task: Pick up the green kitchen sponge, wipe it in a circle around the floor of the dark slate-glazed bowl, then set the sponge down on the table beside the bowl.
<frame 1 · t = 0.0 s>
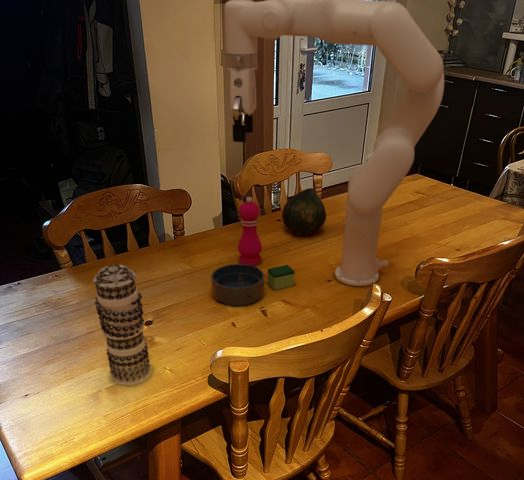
hand: (243, 136, 137), 37 cm above the table, tool pointing down, fingers open, 9 cm apart
sponge: (280, 284, 150), on the table
squash: (303, 231, 182), on the table
decorative candle: (131, 373, 117), on the table
pepper mill: (250, 262, 162), on the table
bowl: (238, 293, 146), on the table
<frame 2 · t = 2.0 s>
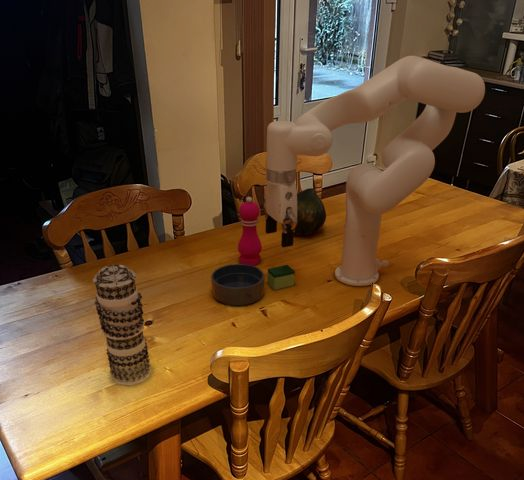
hand: (278, 239, 143), 13 cm above the table, tool pointing down, fingers open, 9 cm apart
nothing on the table moved.
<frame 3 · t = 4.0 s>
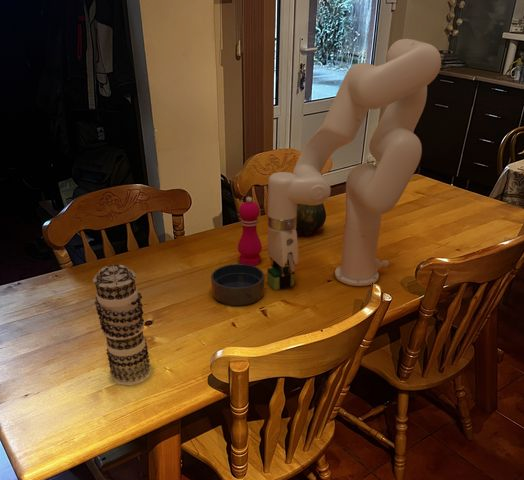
hand: (280, 283, 150), 0 cm above the table, tool pointing down, fingers closed on sponge, 4 cm apart
sponge: (280, 284, 150), on the table, touching gripper
everything else where it was.
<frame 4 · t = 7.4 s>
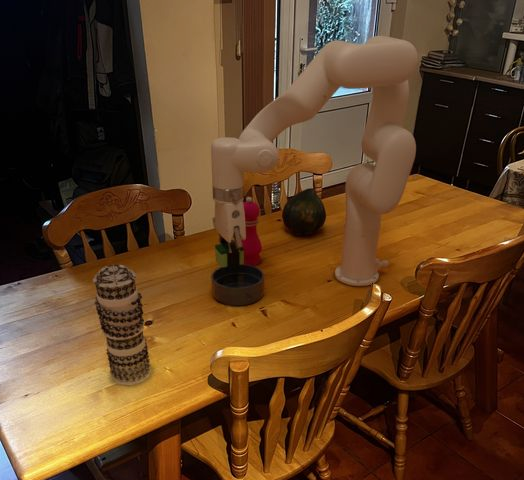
hand: (229, 261, 139), 10 cm above the table, tool pointing down, fingers closed on sponge, 4 cm apart
sponge: (229, 262, 139), point 10 cm above the table, touching gripper
everything else where it was.
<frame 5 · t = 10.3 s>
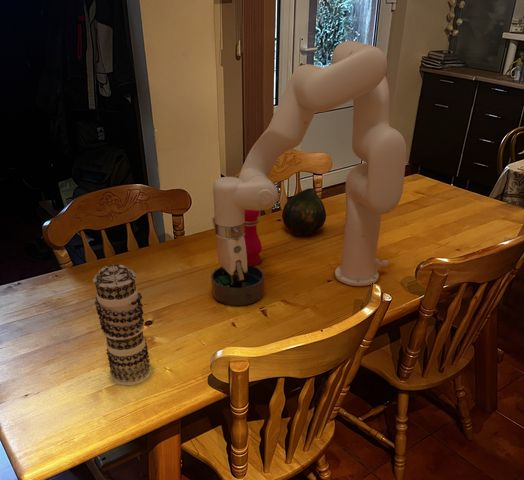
hand: (232, 291, 145), 1 cm above the table, tool pointing down, fingers closed on sponge, 4 cm apart
sponge: (232, 292, 145), point 1 cm above the table, touching gripper
everything else where it was.
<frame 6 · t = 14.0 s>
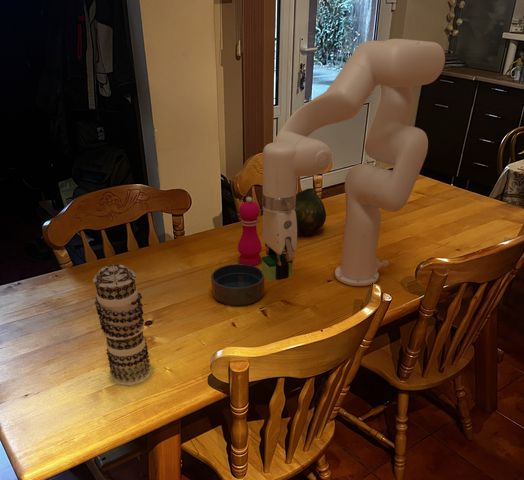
hand: (277, 273, 130), 12 cm above the table, tool pointing down, fingers closed on sponge, 4 cm apart
sponge: (276, 274, 130), point 11 cm above the table, touching gripper
everything else where it was.
when the fingers open (0 cm above the table, at t = 16.9 s): sponge stays where it is, on the table.
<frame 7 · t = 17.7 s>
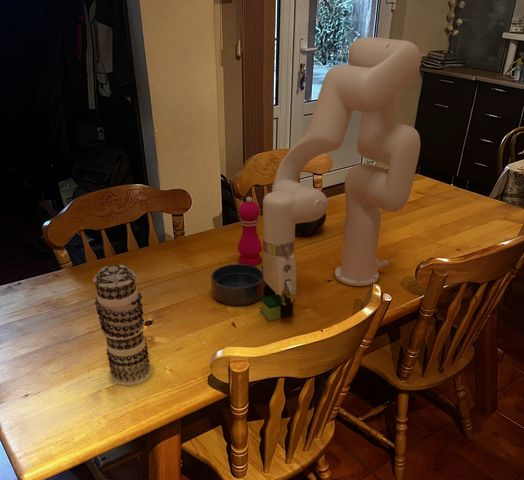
hand: (277, 307, 136), 2 cm above the table, tool pointing down, fingers open, 9 cm apart
sponge: (276, 314, 137), on the table
everything else where it was.
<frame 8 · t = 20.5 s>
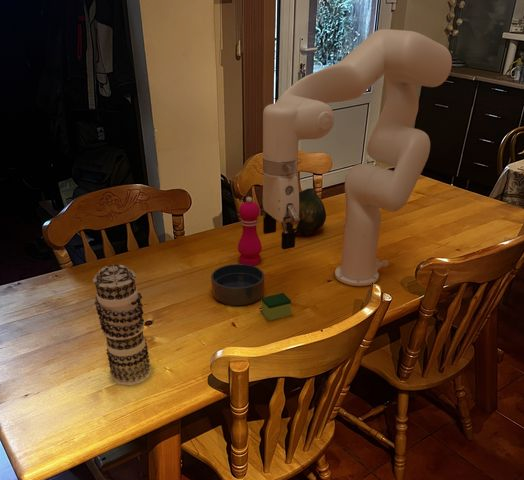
hand: (278, 240, 125), 20 cm above the table, tool pointing down, fingers open, 9 cm apart
nothing on the table moved.
at the end: sponge 0.3 cm from the target spot, on the table; sponge tilted 0°; sponge touching table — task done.
